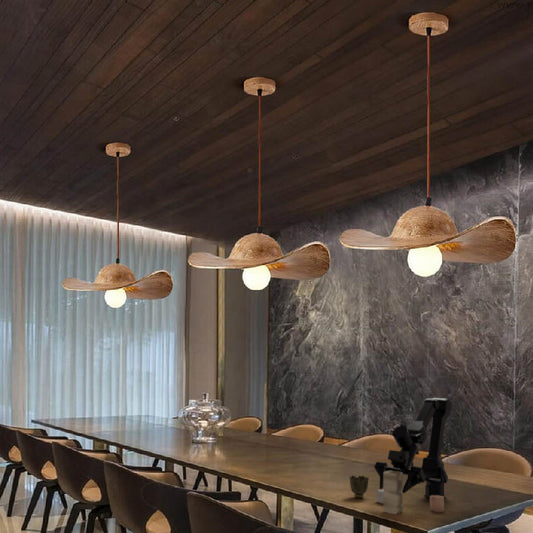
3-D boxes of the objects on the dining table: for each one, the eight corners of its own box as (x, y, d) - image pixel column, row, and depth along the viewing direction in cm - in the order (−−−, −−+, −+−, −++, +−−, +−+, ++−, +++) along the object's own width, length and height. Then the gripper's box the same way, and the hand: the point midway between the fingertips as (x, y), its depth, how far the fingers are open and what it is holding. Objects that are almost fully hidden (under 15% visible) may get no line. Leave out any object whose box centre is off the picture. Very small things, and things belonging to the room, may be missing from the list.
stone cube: (385, 500, 275) (386, 488, 275) (393, 503, 271) (393, 491, 271) (376, 502, 272) (376, 489, 273) (384, 504, 269) (384, 492, 269)
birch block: (390, 509, 259) (390, 470, 261) (402, 511, 256) (402, 472, 258) (383, 512, 255) (383, 472, 257) (395, 514, 252) (395, 473, 254)
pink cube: (439, 508, 263) (438, 494, 263) (446, 511, 258) (446, 497, 259) (427, 509, 261) (427, 495, 262) (434, 512, 256) (434, 498, 257)
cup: (366, 495, 283) (366, 475, 284) (370, 499, 275) (370, 478, 276) (348, 495, 283) (348, 475, 283) (351, 499, 275) (351, 478, 276)
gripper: (376, 439, 268) (361, 473, 258) (422, 444, 256) (407, 479, 246) (387, 458, 273) (372, 492, 263) (431, 464, 261) (418, 499, 252)
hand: (391, 490), depth 256 cm, fingers open, 9 cm apart
